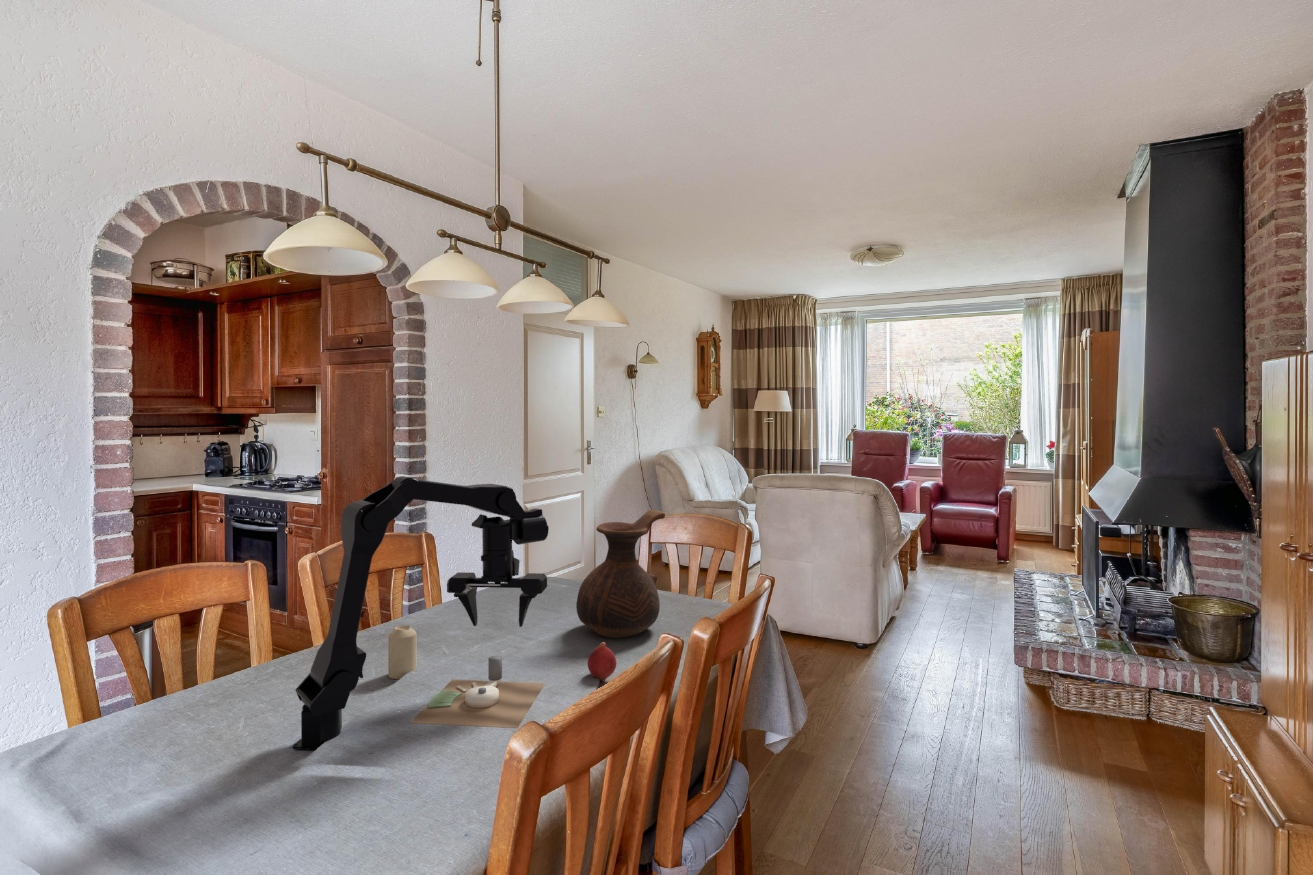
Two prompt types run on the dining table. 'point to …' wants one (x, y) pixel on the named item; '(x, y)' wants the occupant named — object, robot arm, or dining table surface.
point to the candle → (401, 651)
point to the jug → (620, 584)
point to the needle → (486, 686)
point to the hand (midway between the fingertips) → (498, 625)
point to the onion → (602, 662)
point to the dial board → (504, 713)
